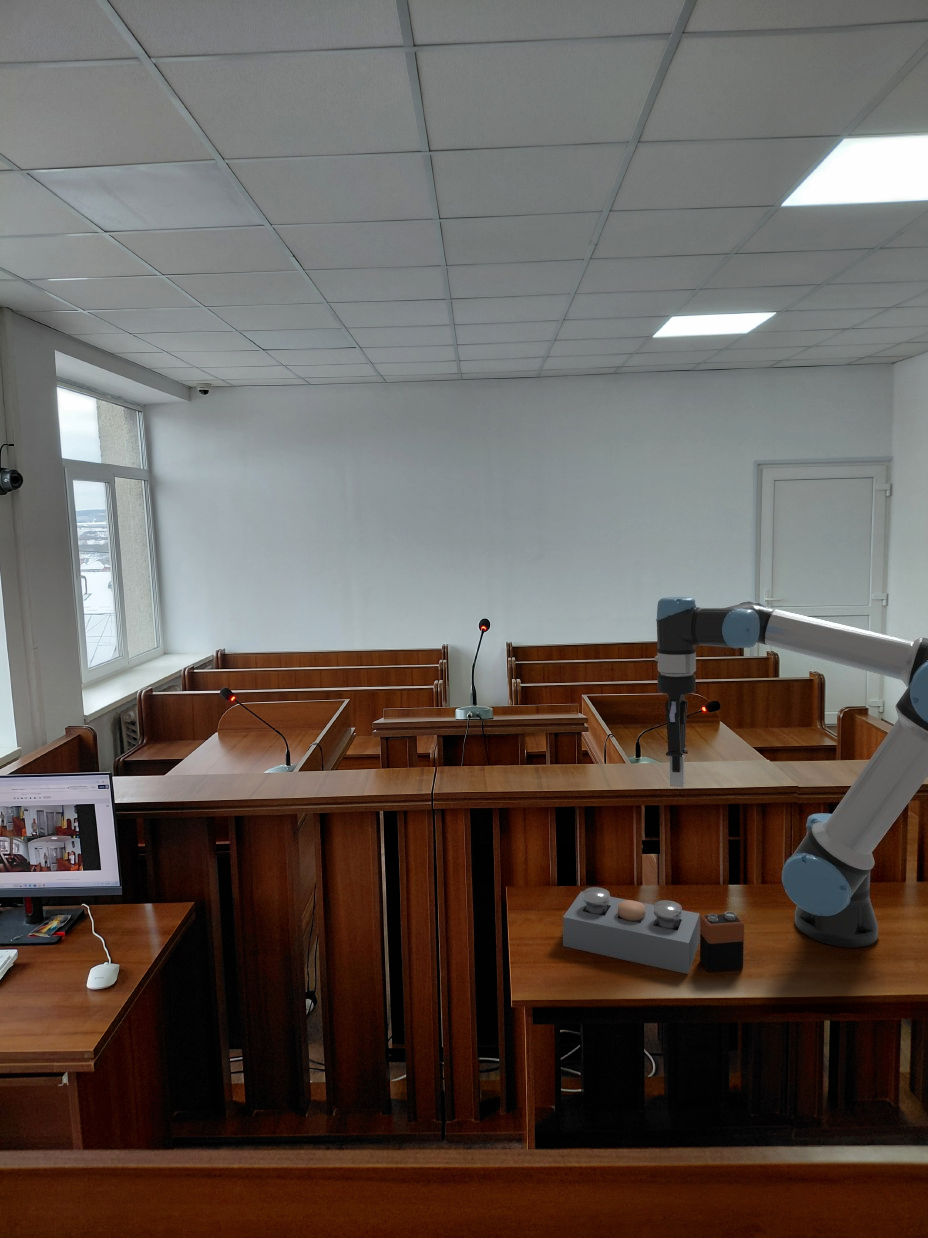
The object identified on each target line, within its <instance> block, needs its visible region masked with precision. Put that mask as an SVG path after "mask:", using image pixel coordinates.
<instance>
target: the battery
mask: <svg viewBox="0 0 928 1238" xmlns="http://www.w3.org/2000/svg"><path fill="white" fill-rule="evenodd" d="M737 915H738V914H737V913H736V912H735V911H731V910H727V911H725V912H723V913H716V914H715V913H709V914H702V915H700V932H699V960H700V963H702V964H703V966H704V967H705V968H706V970H707V971H708V972H709V973H713V972H714V973H715V972H716V973H717V972H726V971H727V972H728V971H737V970H742V969H744V949H745V948H744V947H745V945H744V940H745V939H744V938H745V923H744V922H743V921H742V920H741V919H740V918H739V917H738V916H737Z"/></svg>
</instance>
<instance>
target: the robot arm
mask: <svg viewBox="0 0 928 1238" xmlns="http://www.w3.org/2000/svg"><path fill="white" fill-rule="evenodd" d="M656 607H657V610H656V620H655V622H656V638H657V639H656V641H657V642H656V644H657V650H656V653H657V655H655V656H654V661H656V662H657V672H659V673H658V674H657V678H656V679H657V691H658V693H661V694H662V695H663V694H664V695H667V696H668V699H667V701H665V705H664V706H665V711H666V712H665V720H666V734H667V737H666V738H667V739H666V740H667V751H666V752H665V756H666V757H669V787H673V788H685V755H688V753H689V750H687V749H686V746H687V744H686V734H687V733H686V731H687V730H686V728H687V726H686V725H687V708H688V707H689V706H688V700H686V699H685V698H686V697H685V695H691V694H694V693H695V692H696V688H697V687H696V682H697V681H696V679H697V678H696V677H697V676H696V675H695V672H696V671H697V658H696V657H697V654H696V646H705V647H707V646H708V647H719V648H720V647H722V648H733V649H739V648H740V649H746V648H747V649H748V648H749V649H750V648H753V647H755V645H756V644H757V643H758V644H761V645H766V646H770V647H774V648H777V649H781V650H785V651H789V652H793V653H796V654H801V655H804V656H808V657H813V658H816V659H820V660H823V661H827V662H832V663H835V664H839V665H842V666H847V667H851V668H855V669H858V670H862V671H865V672H869V673H873V674H877V675H881V676H885V677H888V678H892V679H895V680H900V681H902V682H903V683H904V685H905V686H906V687H907V688H906V690H905V691H904V692H903V693H902V696H901V697H900V698H899V700H898V701H897V703H896V704H895V710H896V713H897V720H896V722H895V723H894V724H893V725H892V727H891V729H890V730H889V732H888V733H887V734H886V735H885V737H884V739H883V740H882V742H881V743H880V745H878V747H877V749H875V752H874V753H873V754H872V756H871V758H870V759H869V760H868V762H867V763H866V764H865V766H864V768H863V769H862V770H861V772H860V773H859V775H858V776H857V778H856V779H855V780H854V782H853V784H852V785H851V786H850V788H849V789H848V790H847V792H846V793H845V795H844V796H843V798H842V799H841V801H840V802H839V803H838V805H837V806H836V808H835V810H834V811H833V812H832V813H826V812H825V813H813V814H810V815H809V816H808V817H807V821H806V824H805V828H806V835H805V836H804V838H803V839H802V841H801V842H800V844H799V845H798V847H796V849H795V851H794V853H793V854H792V855H791V856H790V857H788V858H787V859H786V861H785V862H784V864H783V868H782V871H781V884H782V885H783V888H784V890H785V893H786V895H787V896H788V897H789V899H790V901H792V903H794V904H795V905H796V908H795V912H794V924H795V927H796V928H797V929H798V931H800V932H801V933H802V934H803V935H805V936H807V937H809V938H811V939H813V940H815V941H818V942H820V943H823V944H826V945H830V946H835V947H839V948H840V947H841V948H863V947H867V946H870V945H873V944H874V943H876V941H877V940H878V936H879V925H878V921H877V917H876V914H875V912H874V911H875V910H874V908H873V905H872V902H871V898H870V887H871V886H870V884H871V882H870V881H871V871H872V869H873V868H874V866H875V858H874V855H873V851H874V850H875V849H876V848H877V846H878V845H879V843H880V842H881V840H883V838H884V837H885V836H886V833H888V831H889V830H890V828H891V827H892V826H893V824H894V822H895V821H896V820H897V819H898V817H899V816H900V815H901V814H902V812H903V810H905V808H906V807H907V805H908V804H909V803H910V801H911V800H912V799H913V797H914V795H916V793H917V792H918V790H919V789H920V788H921V786H922V785H923V783H924V782H925V781H926V780H927V778H928V638H926V637H924V636H923V637H922V636H921V637H920V638H917V639H915V640H911V639H906V638H902V637H897V636H893V635H888V634H885V633H880V632H877V631H871V630H867V629H863V628H859V627H854V626H851V625H846V624H841V623H837V622H833V621H828V620H823V619H819V618H816V617H812V616H811V617H810V616H806V615H803V614H798V613H793V612H789V611H785V610H782V609H775V608H772V607H767V606H766V605H765V604H763V603H761V602H756V601H749V600H748V601H743V602H741V603H739V604H736V605H730V606H728V607H722V608H721V607H719V608H718V607H713V608H711V607H709V608H706V607H699V606H697V605H696V600H695V599H694V597H691V596H667V597H662V598H660V599H659V600H658V602H657V606H656Z"/></svg>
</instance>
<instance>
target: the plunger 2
mask: <svg viewBox="0 0 928 1238" xmlns="http://www.w3.org/2000/svg"><path fill="white" fill-rule="evenodd" d="M653 905H654V915H655V916H656V917H657V927H662V928H667V929H672V930H677V931H678V923H679V919H680V918H681V917H682V910H683V907H682V905H681V904H680V903H678V902H676V901H674V900H673V901H672V900H667V899H665V900H659V901H656V902H654V904H653Z"/></svg>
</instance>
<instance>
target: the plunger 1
mask: <svg viewBox="0 0 928 1238" xmlns="http://www.w3.org/2000/svg"><path fill="white" fill-rule="evenodd" d="M610 897H611V894H610V892H609V890H607V889H605V888H603V887H597V886H593V887H588V888H585V889H584V890H583V901H584V902H585V903H586V912H588V913H593V914H598V915H603V916H605V914H606V913H607V905H608V904H609V902H610Z"/></svg>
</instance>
